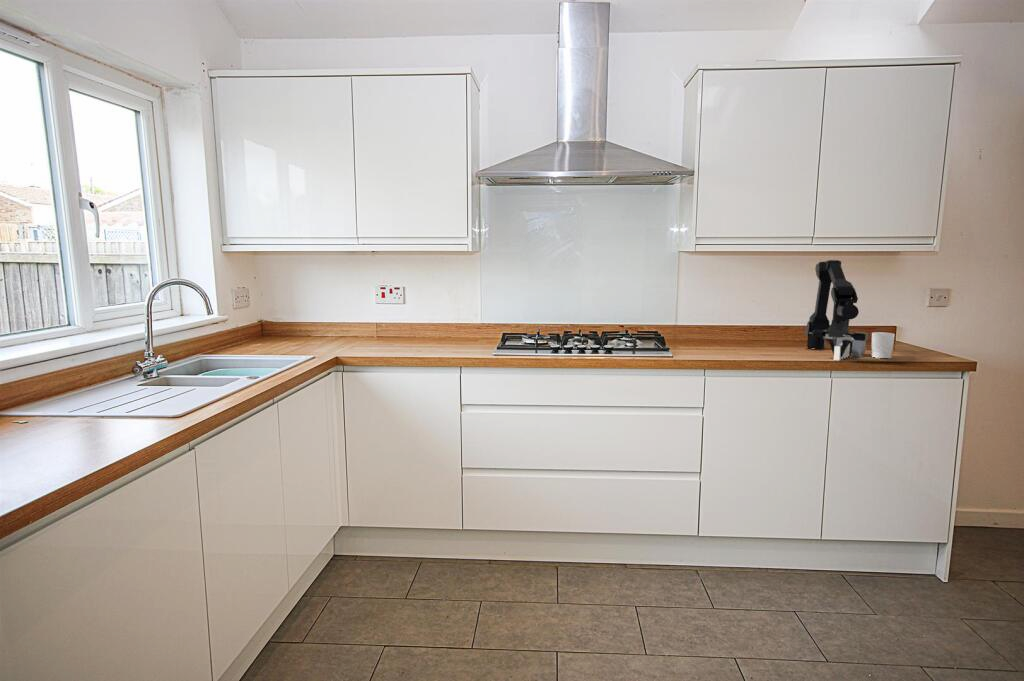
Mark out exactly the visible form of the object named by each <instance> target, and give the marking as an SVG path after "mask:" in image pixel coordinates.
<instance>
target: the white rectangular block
mask: <svg viewBox="0 0 1024 681" xmlns="http://www.w3.org/2000/svg"><path fill="white" fill-rule="evenodd" d="M841 349H842V344H839V345H837V344H836V346H835V347H834V355H833V361H842V360H844V359H847V358H849V357H850V354H849V351H850V344H849V345H848V346H847V348H846V350H845V352H844V354H843V356H842V357H841ZM848 356H849V357H848ZM846 357H847V358H846ZM843 358H844V359H843ZM841 359H842V360H841Z"/></svg>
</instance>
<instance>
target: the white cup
mask: <svg viewBox="0 0 1024 681" xmlns="http://www.w3.org/2000/svg"><path fill="white" fill-rule="evenodd" d="M895 336H896V335H895V333H893V332H882V331H881V332H879V331H877V332H876V331H874V332H871V348H870V349H871V355H870V356H872V357H871V358H873V357H875V359H880V358H890V359H892V354H893V348H894V343H895V342H894V341H895Z"/></svg>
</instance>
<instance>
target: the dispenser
mask: <svg viewBox="0 0 1024 681" xmlns="http://www.w3.org/2000/svg"><path fill="white" fill-rule="evenodd" d="M844 339H845V338H844V337H841V338H837V337H836V345H839V344H842V340H844ZM866 344H867V340H866V341H858V340H855V339H854V341H852V342H850V351H849V353H852V354H851V357H853V356H859V357H858V358H861V357H860V356H862V357H864V356H865V355H866ZM863 355H864V356H863Z"/></svg>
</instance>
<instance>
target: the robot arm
mask: <svg viewBox="0 0 1024 681" xmlns="http://www.w3.org/2000/svg"><path fill="white" fill-rule="evenodd" d="M815 273H816V274H815V275H816V278H817V279H818V287H817V293H816V300H815V306H814V312H813V313H812V314H811V315H810V316H809V317H808V318H809V320H808V322H807V323H806V327H805V329H804V335H805V336H807V341H806V342H807V343H806V347H808V348H815V349H814V350H817V349H822V350H824V348H825V349H826V346H827V345H826V341H827V342H828V344H829V346H830V348H831V352H832V355H833V356H834V347H835V346H836V345H837V338H841V337H844V338H845V339H844V340H842V349H841V357H842V356H843V354H844V352H845V350H846V348H847V346H848V345H849V344H850V342H852V341H854V339H855V340H858V341H866V342H867V341H868V340H869V333H868V332H866V331H855V332H854V333H852V332H850V326H849V325H850V321H851V320H853V319H855V318H857V317H858V315H859V308H858V306H856V305H855V304H857V303H858V299H859V297H858V294H857V292H856V288H855V287H854V285H853V284H852V282H850V281H848V280H847V278H846V276H845V274H844V271H843V268H842V261H841V260H839V259H829V260H826V261H818V263H817V264H816V265H815ZM831 285H832V288H831ZM830 295H831V296H830ZM830 297H831V299H832V302H833V309H832V312H833V313H832V319H831V324H830V320H829V318H828V315H827V311H828V310H827V309H828V304H829V298H830Z"/></svg>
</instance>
